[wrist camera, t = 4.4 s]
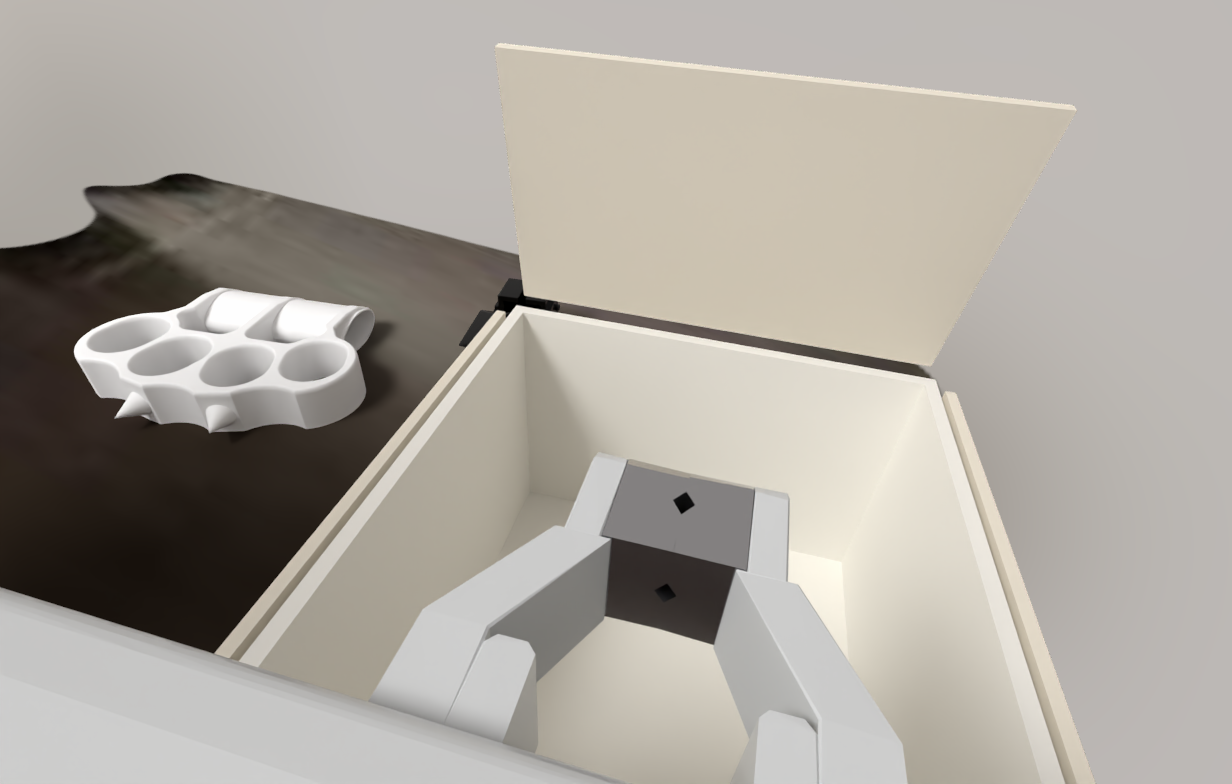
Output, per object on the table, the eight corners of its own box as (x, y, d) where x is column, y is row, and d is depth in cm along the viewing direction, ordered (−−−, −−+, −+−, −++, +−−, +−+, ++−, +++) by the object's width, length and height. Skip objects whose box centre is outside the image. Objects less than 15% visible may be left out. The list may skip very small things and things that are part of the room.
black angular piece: (436, 354, 45) (428, 301, 43) (469, 307, 51) (464, 258, 48) (597, 377, 44) (600, 324, 42) (612, 326, 50) (615, 277, 47)
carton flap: (494, 46, 19) (499, 42, 19) (524, 295, 27) (527, 290, 27) (1077, 110, 17) (1073, 105, 17) (931, 366, 24) (929, 360, 24)
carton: (266, 962, 18) (72, 824, 11) (514, 486, 34) (502, 302, 27) (928, 1213, 15) (1263, 1253, 8) (860, 565, 31) (952, 382, 24)
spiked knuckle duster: (417, 338, 47) (314, 469, 35) (202, 309, 48) (36, 425, 37) (410, 300, 45) (299, 426, 33) (186, 271, 46) (5, 381, 35)
